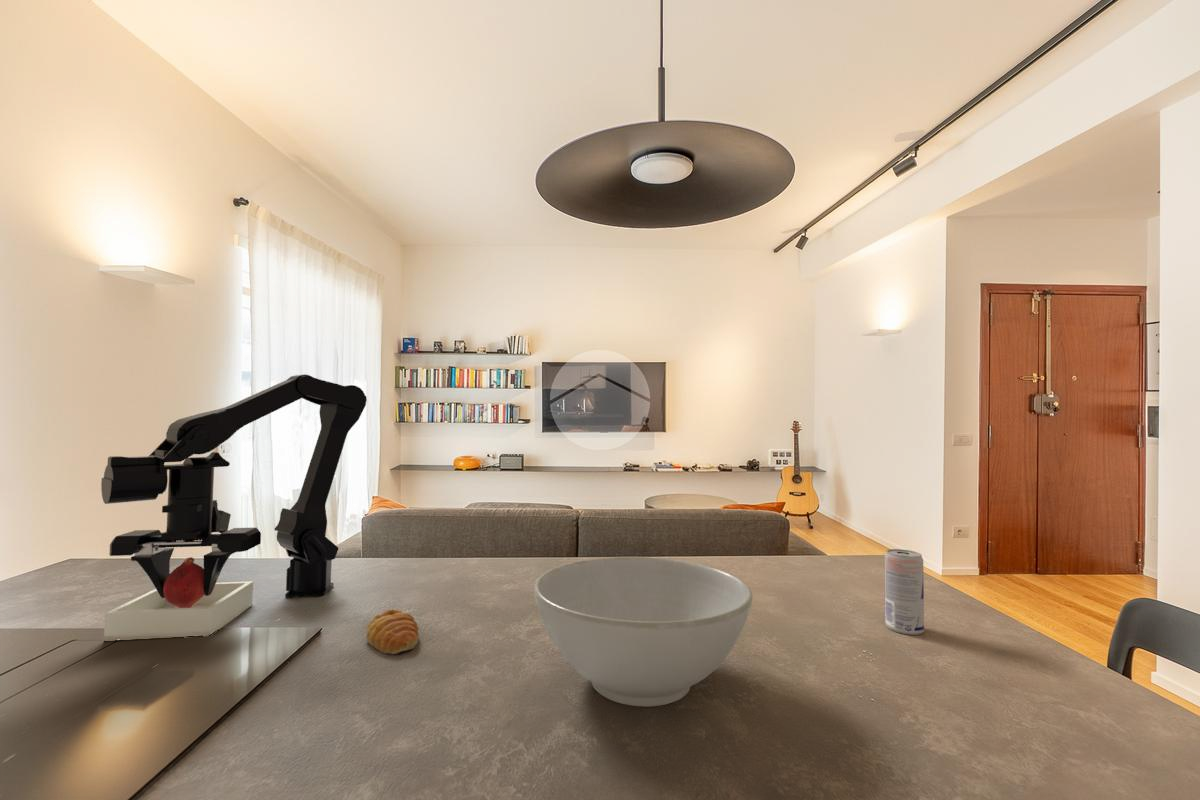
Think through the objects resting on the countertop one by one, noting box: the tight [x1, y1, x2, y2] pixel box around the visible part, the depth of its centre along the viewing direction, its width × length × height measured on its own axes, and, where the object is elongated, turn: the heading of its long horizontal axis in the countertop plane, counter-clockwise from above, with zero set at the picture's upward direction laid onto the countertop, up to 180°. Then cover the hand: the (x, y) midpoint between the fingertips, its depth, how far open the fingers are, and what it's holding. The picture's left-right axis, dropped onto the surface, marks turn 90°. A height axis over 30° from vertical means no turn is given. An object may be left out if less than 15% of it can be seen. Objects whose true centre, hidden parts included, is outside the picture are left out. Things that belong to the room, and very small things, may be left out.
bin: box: [103, 580, 254, 640], centre depth 84 cm, size 14×14×4 cm
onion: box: [163, 557, 205, 608], centre depth 84 cm, size 6×6×8 cm
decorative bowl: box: [533, 556, 753, 708], centre depth 67 cm, size 27×27×12 cm
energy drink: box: [884, 548, 925, 636], centre depth 85 cm, size 5×5×12 cm
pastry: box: [365, 609, 420, 655], centre depth 77 cm, size 9×7×4 cm
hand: (186, 596), depth 84 cm, fingers closed on onion, 6 cm apart
